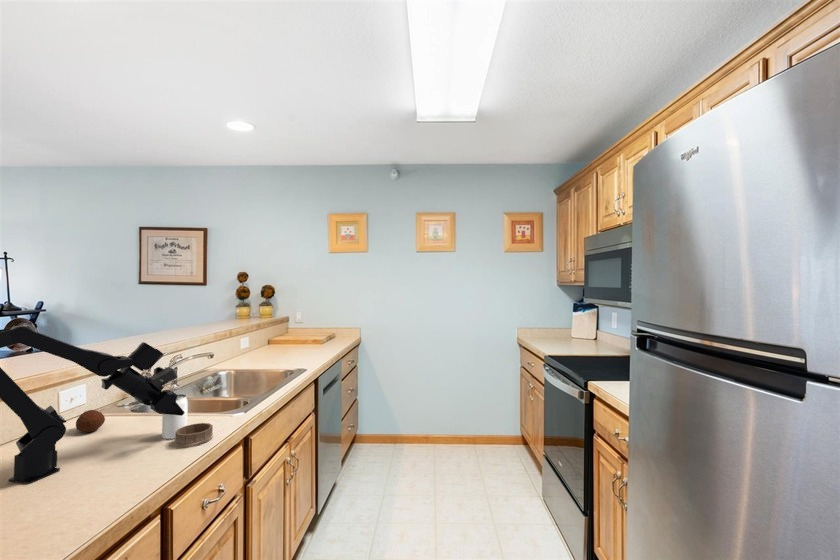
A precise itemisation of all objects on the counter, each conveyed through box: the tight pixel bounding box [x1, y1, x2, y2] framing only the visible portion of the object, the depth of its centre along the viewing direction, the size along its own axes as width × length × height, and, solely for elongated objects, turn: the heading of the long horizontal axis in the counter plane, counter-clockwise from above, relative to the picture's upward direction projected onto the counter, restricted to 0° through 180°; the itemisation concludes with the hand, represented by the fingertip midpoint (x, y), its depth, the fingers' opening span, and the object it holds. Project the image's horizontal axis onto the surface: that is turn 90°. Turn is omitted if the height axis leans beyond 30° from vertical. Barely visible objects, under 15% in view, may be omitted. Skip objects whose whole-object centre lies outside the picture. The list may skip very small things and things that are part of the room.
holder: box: [174, 422, 214, 449], centre depth 108 cm, size 10×10×4 cm
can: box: [161, 393, 188, 440], centre depth 112 cm, size 6×6×12 cm
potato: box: [75, 409, 106, 433], centre depth 115 cm, size 7×9×6 cm
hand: (177, 410), depth 112 cm, fingers open, 9 cm apart
